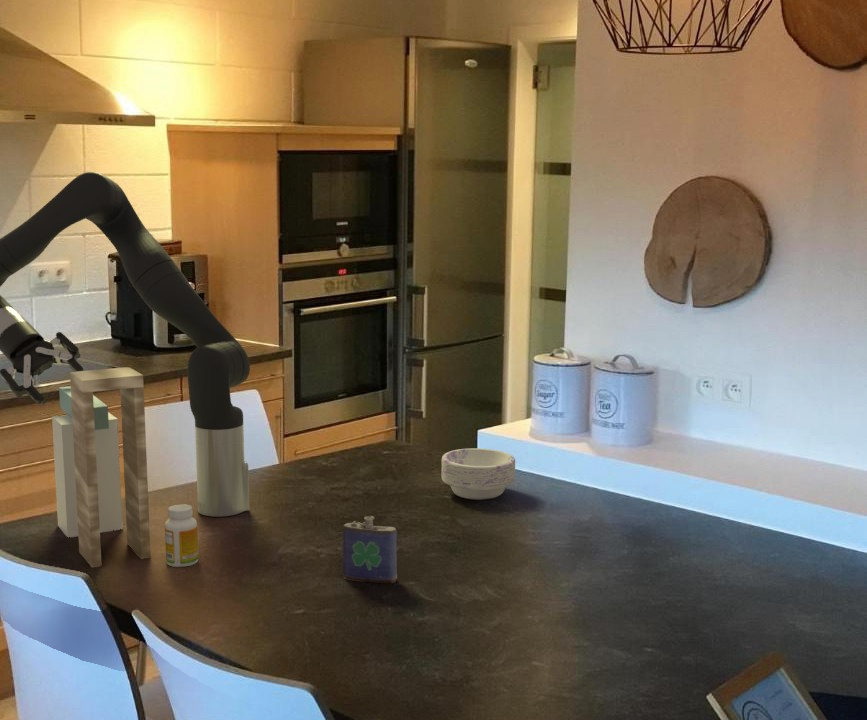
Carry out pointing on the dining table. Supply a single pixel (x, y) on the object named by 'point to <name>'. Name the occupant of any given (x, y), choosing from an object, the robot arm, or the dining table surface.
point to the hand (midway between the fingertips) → (63, 388)
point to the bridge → (132, 456)
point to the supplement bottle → (181, 537)
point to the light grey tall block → (105, 475)
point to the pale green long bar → (99, 408)
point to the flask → (369, 552)
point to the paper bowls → (478, 472)
